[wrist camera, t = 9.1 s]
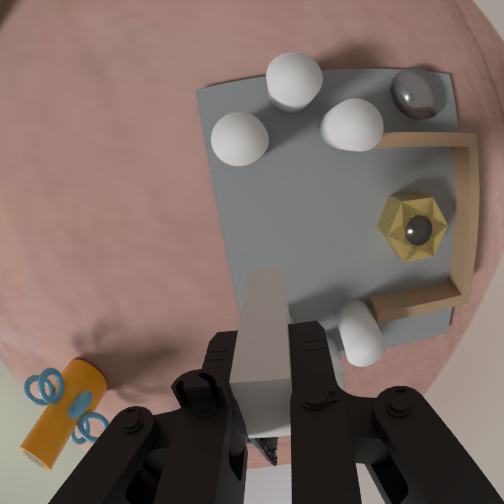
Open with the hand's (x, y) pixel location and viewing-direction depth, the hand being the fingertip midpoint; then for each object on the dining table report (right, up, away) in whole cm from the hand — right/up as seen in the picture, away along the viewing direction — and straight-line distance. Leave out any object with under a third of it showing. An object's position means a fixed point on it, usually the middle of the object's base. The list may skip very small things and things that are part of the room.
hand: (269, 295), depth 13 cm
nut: (+11, +4, +7) cm, 14 cm away
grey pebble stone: (+11, +14, +4) cm, 18 cm away
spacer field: (+7, +4, +9) cm, 12 cm away
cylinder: (-22, -14, +18) cm, 32 cm away
